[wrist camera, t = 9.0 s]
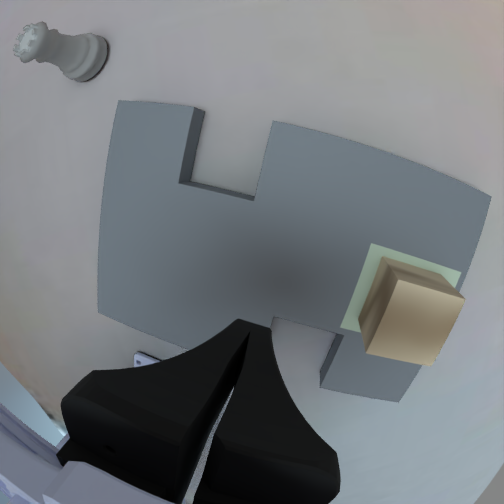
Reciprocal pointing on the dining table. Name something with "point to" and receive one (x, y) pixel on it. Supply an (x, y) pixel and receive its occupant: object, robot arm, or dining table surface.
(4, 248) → the dining table surface
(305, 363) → the dining table surface
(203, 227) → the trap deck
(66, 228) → the dining table surface
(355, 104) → the dining table surface
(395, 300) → the oak block
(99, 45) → the rook chess piece
